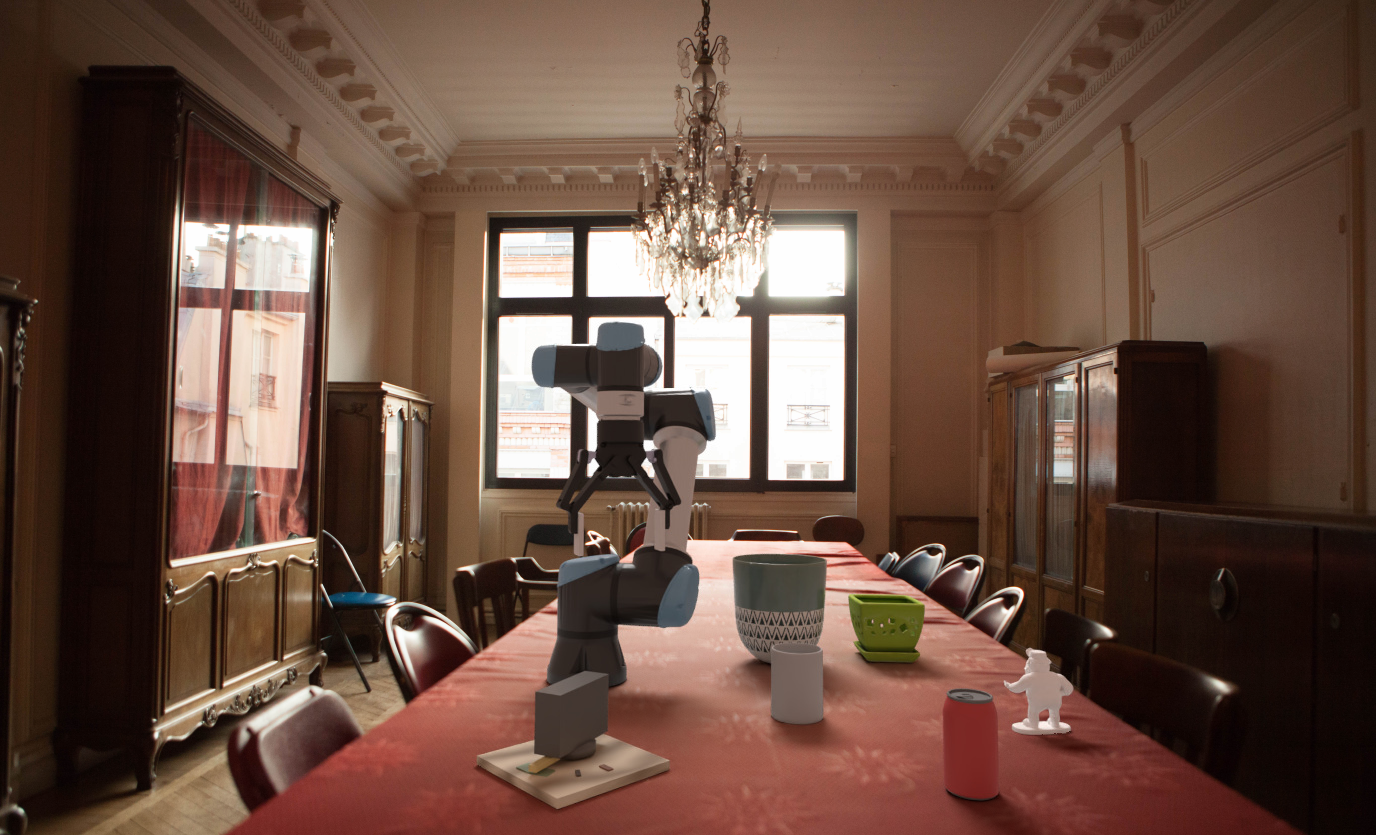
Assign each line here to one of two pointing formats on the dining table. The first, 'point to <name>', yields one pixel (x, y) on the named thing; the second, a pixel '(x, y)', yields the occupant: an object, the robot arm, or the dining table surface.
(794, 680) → the mug
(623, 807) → the dining table surface
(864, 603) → the flower pot
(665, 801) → the dining table surface
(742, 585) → the planter
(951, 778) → the beer can
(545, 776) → the board
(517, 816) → the dining table surface
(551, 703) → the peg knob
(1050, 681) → the figurine
